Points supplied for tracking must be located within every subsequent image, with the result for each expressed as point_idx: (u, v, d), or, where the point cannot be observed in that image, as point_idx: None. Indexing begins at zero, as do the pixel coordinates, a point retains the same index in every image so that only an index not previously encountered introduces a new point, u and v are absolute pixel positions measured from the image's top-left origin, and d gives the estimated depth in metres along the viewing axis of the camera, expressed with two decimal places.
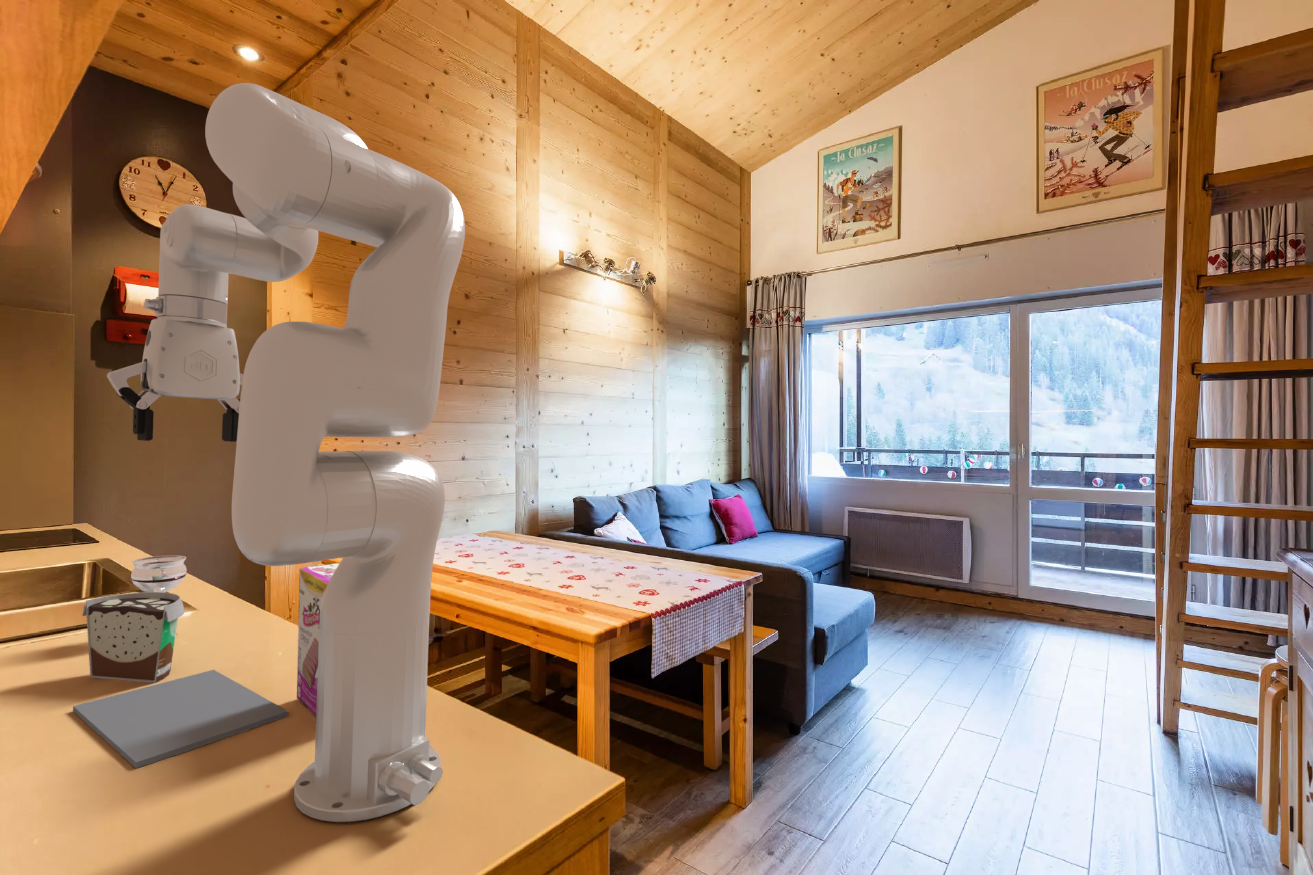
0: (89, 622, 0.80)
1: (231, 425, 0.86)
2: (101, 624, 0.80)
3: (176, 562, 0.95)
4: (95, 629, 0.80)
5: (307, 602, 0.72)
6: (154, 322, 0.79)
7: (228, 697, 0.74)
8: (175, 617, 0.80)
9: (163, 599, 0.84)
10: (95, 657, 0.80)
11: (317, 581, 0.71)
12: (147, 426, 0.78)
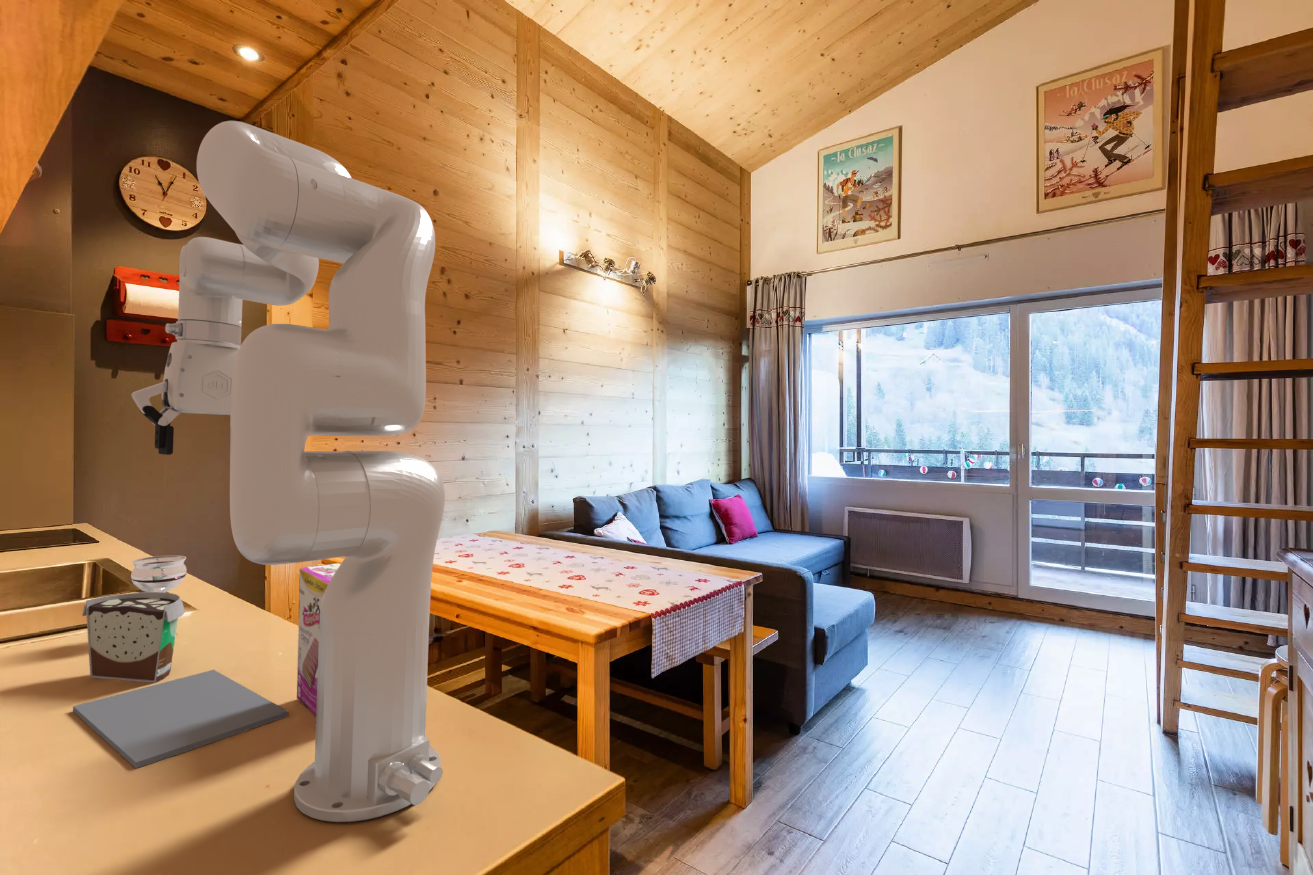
0: (89, 622, 0.80)
1: None
2: (101, 624, 0.80)
3: (176, 562, 0.95)
4: (95, 629, 0.80)
5: (307, 602, 0.72)
6: (174, 345, 0.85)
7: (228, 697, 0.74)
8: (175, 617, 0.80)
9: (163, 599, 0.84)
10: (95, 657, 0.80)
11: (317, 581, 0.71)
12: (168, 441, 0.84)
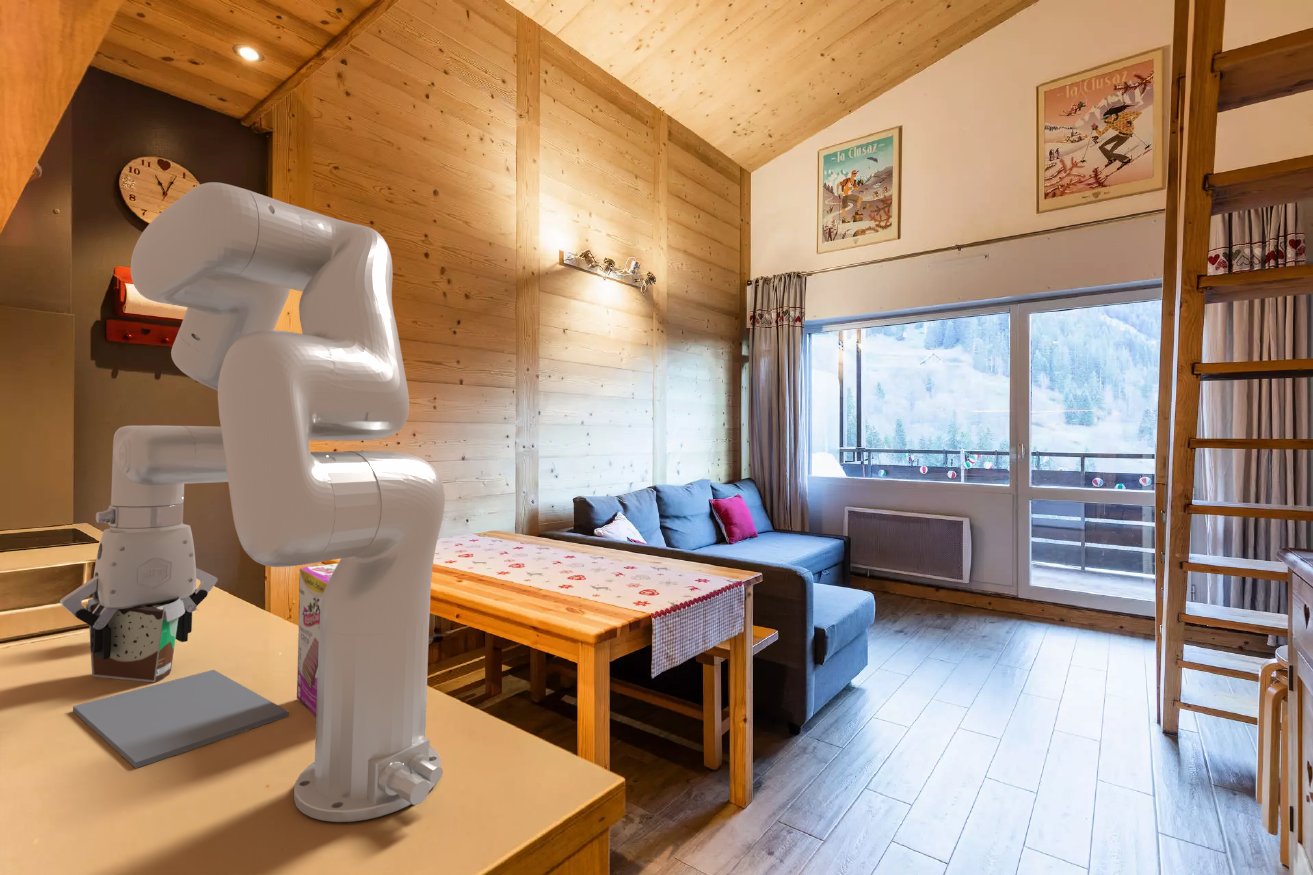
0: None
1: (181, 626, 0.85)
2: None
3: None
4: None
5: (307, 602, 0.72)
6: (106, 536, 0.78)
7: (228, 697, 0.74)
8: (174, 617, 0.80)
9: None
10: (97, 656, 0.80)
11: (317, 581, 0.71)
12: (104, 645, 0.78)
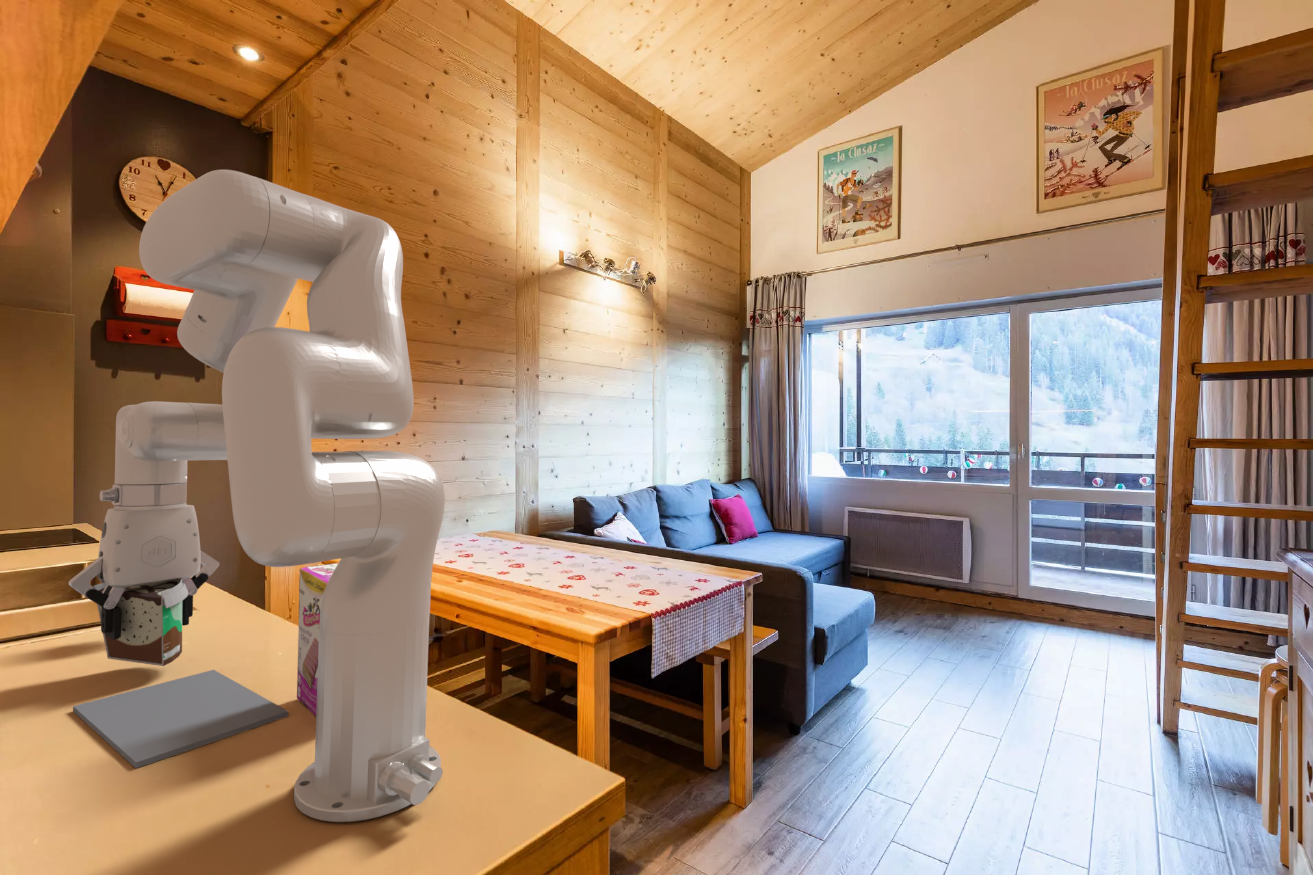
0: (99, 606, 0.81)
1: (182, 609, 0.84)
2: None
3: None
4: None
5: (307, 602, 0.72)
6: (110, 514, 0.78)
7: (228, 697, 0.74)
8: (174, 602, 0.79)
9: (169, 581, 0.84)
10: (109, 639, 0.81)
11: (317, 581, 0.71)
12: (115, 625, 0.78)
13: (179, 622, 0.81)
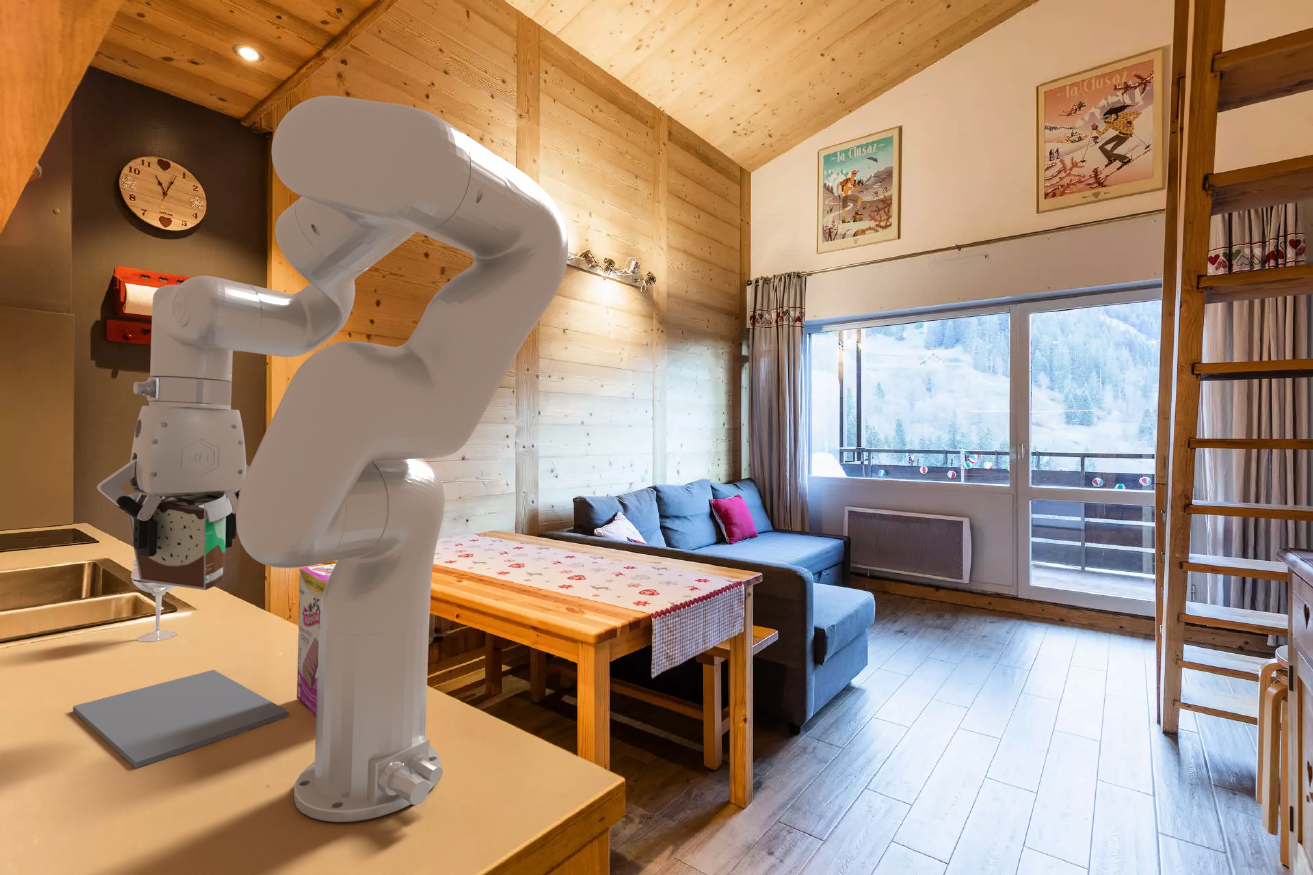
0: (131, 520, 0.69)
1: None
2: None
3: None
4: None
5: (307, 602, 0.72)
6: (145, 410, 0.66)
7: (228, 697, 0.74)
8: (219, 517, 0.68)
9: (210, 496, 0.73)
10: (142, 559, 0.70)
11: (317, 581, 0.71)
12: (150, 540, 0.66)
13: (222, 541, 0.70)
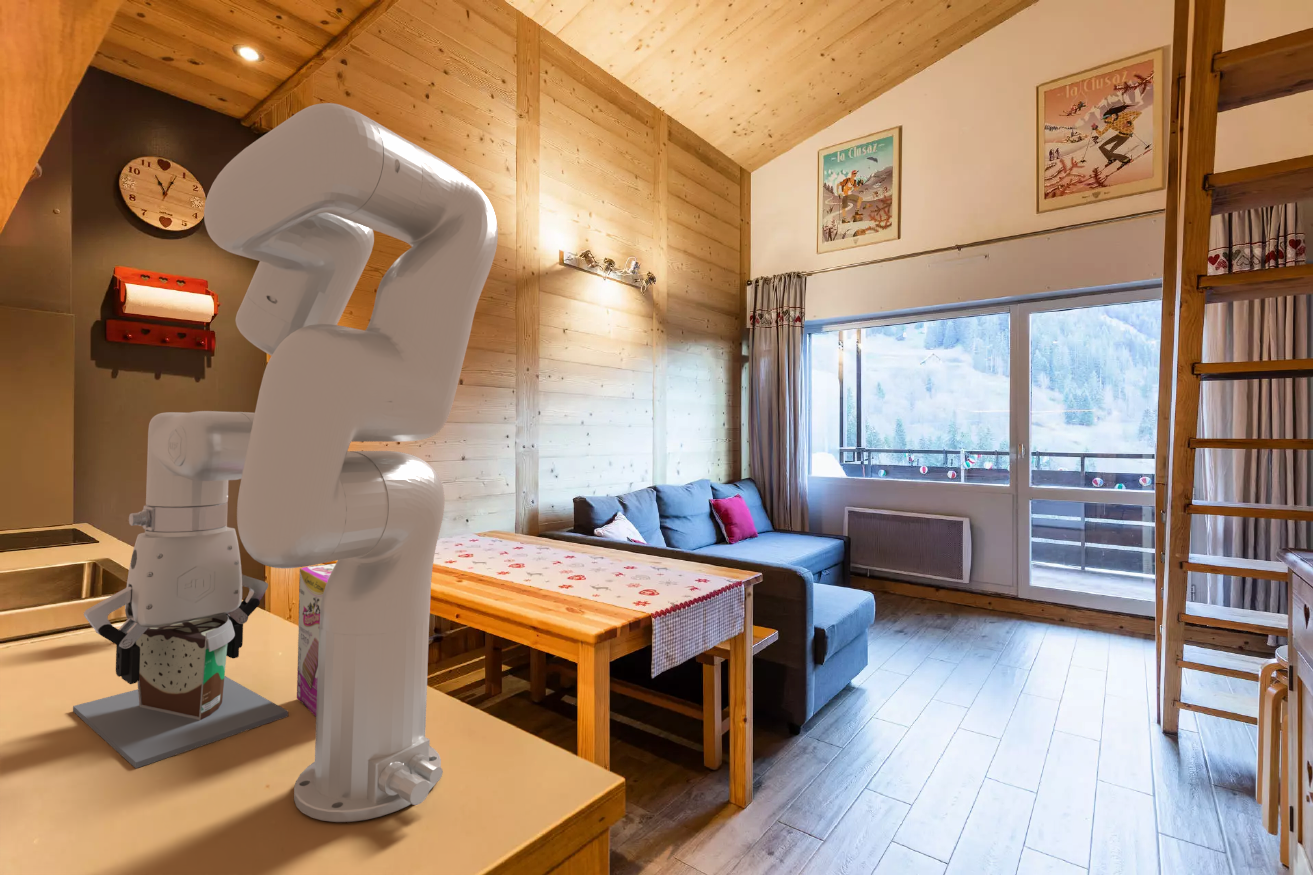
0: None
1: (232, 640, 0.74)
2: (147, 648, 0.70)
3: None
4: (142, 653, 0.70)
5: (307, 602, 0.72)
6: (141, 541, 0.66)
7: (228, 697, 0.74)
8: (219, 645, 0.69)
9: (215, 620, 0.74)
10: (143, 685, 0.70)
11: (317, 581, 0.71)
12: (132, 667, 0.66)
13: (222, 668, 0.71)
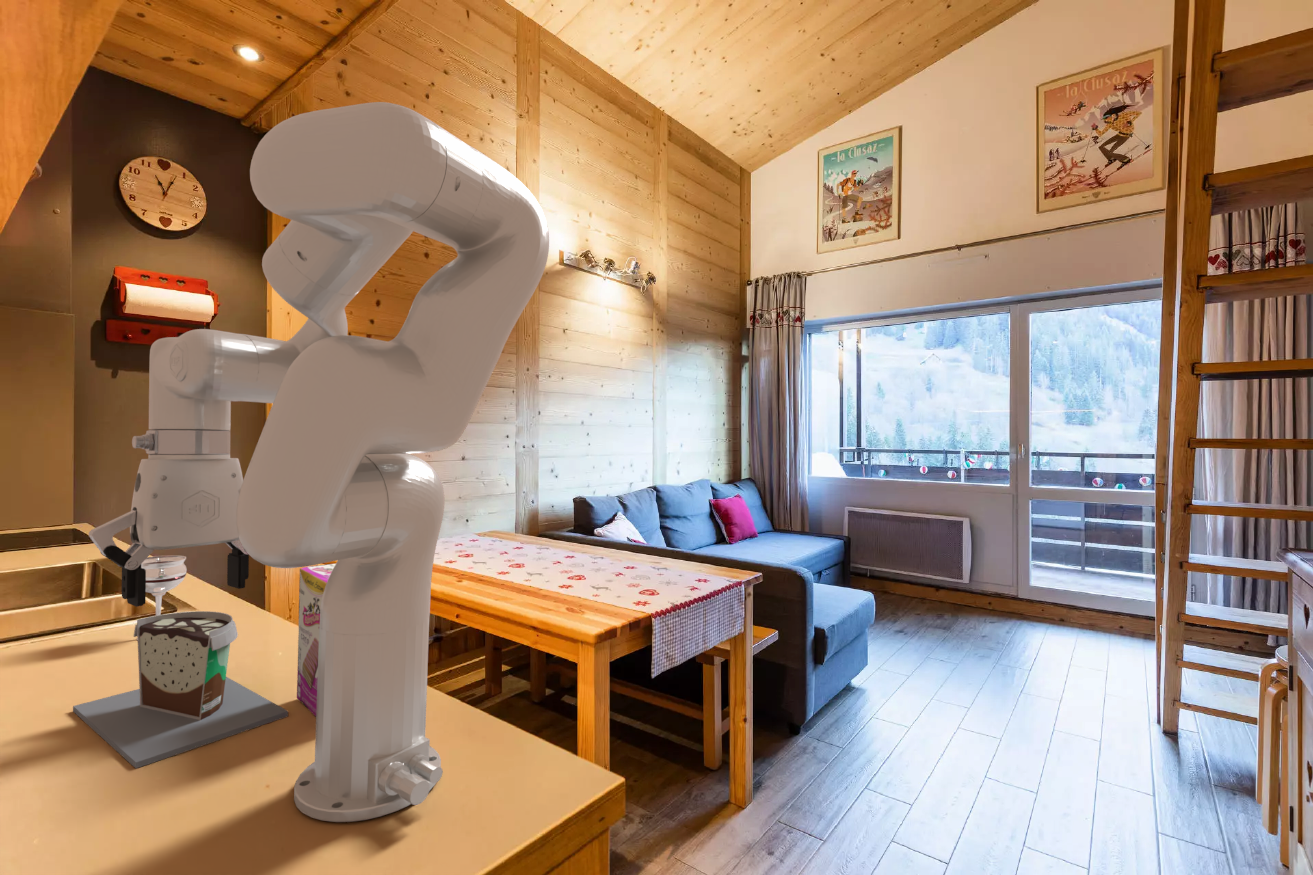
0: (140, 644, 0.71)
1: (238, 570, 0.73)
2: (151, 647, 0.70)
3: (176, 562, 0.95)
4: (145, 652, 0.71)
5: (307, 602, 0.72)
6: (144, 463, 0.66)
7: (228, 697, 0.74)
8: (222, 645, 0.69)
9: (218, 620, 0.74)
10: (145, 684, 0.71)
11: (317, 581, 0.71)
12: (138, 589, 0.65)
13: (224, 668, 0.71)
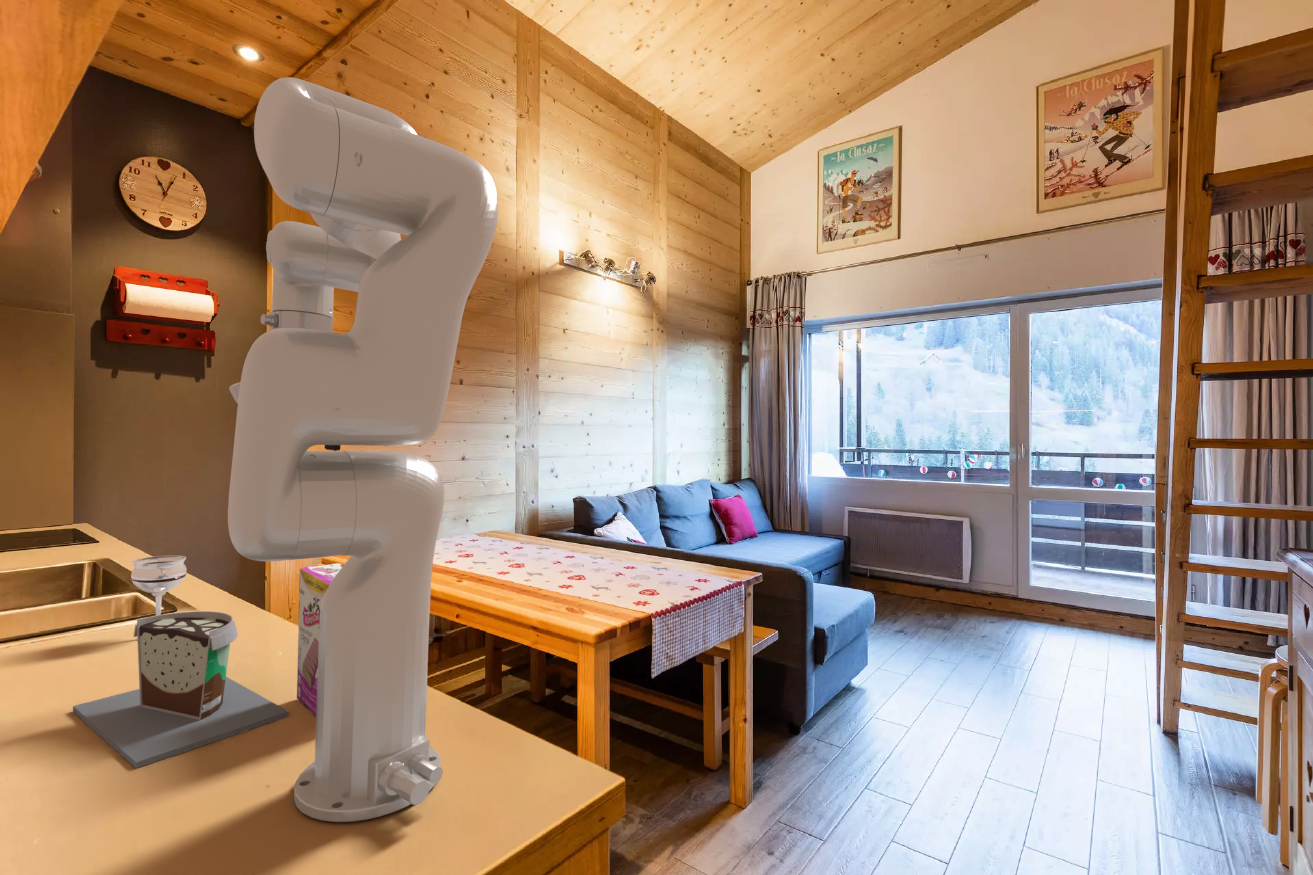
0: (140, 644, 0.71)
1: None
2: (151, 647, 0.70)
3: (176, 562, 0.95)
4: (145, 652, 0.71)
5: (307, 602, 0.72)
6: None
7: (228, 697, 0.74)
8: (222, 645, 0.69)
9: (218, 620, 0.74)
10: (145, 684, 0.71)
11: (317, 581, 0.71)
12: None
13: (224, 668, 0.71)
